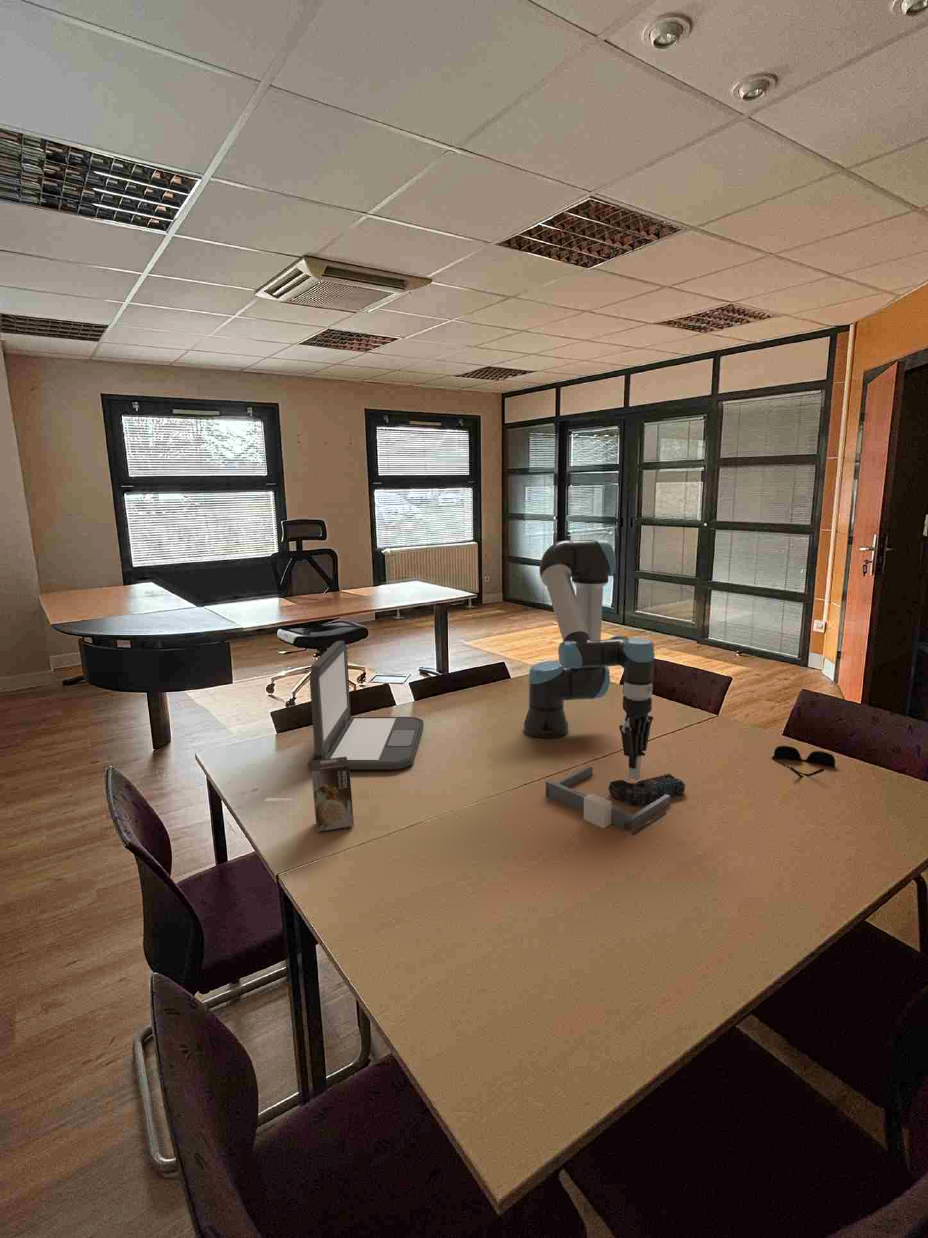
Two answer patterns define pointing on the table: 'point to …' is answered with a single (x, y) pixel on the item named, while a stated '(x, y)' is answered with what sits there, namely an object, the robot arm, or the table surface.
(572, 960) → the table surface
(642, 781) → the toy gun
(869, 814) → the table surface
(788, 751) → the sunglasses
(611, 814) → the dock
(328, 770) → the coffee box
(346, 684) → the laptop
